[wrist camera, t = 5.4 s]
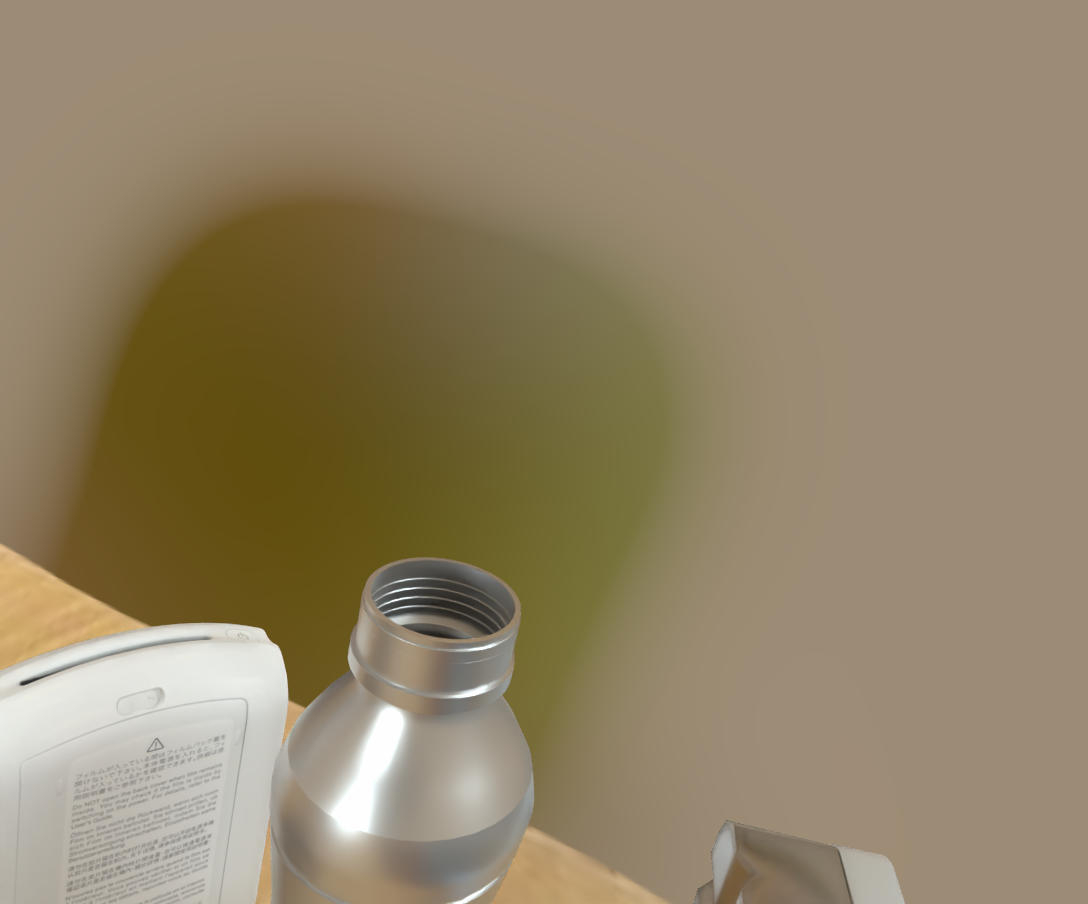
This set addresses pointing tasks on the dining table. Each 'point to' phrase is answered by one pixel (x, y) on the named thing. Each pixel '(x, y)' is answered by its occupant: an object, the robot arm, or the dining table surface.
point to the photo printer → (140, 767)
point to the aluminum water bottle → (408, 751)
